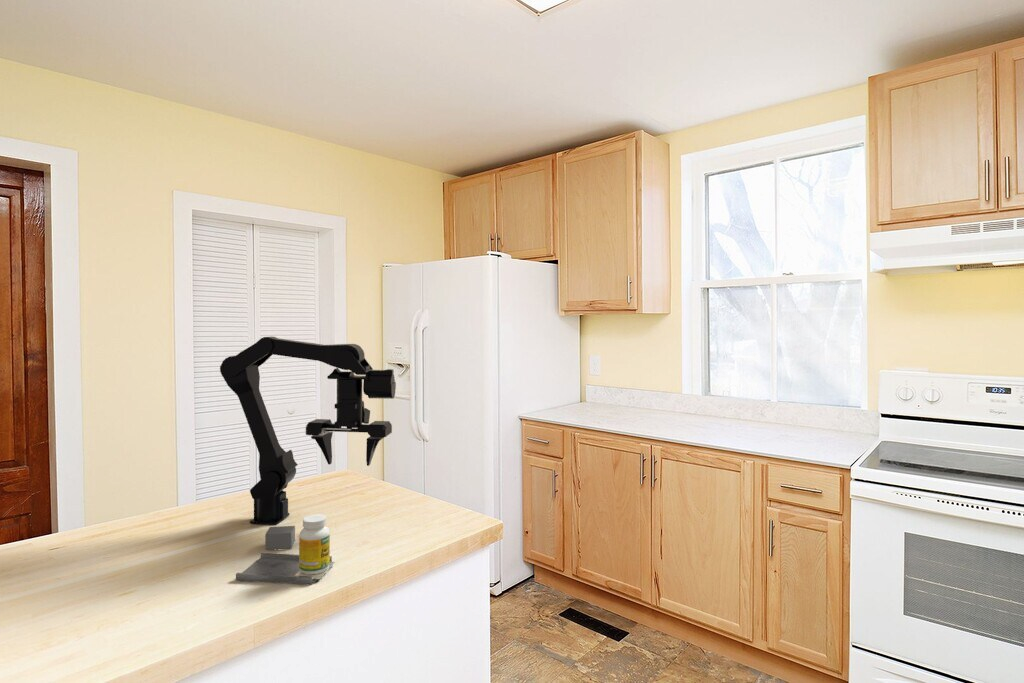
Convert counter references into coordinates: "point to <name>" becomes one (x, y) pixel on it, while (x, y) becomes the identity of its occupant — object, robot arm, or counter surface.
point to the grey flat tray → (278, 570)
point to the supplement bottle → (314, 545)
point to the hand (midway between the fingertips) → (349, 464)
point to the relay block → (280, 538)
